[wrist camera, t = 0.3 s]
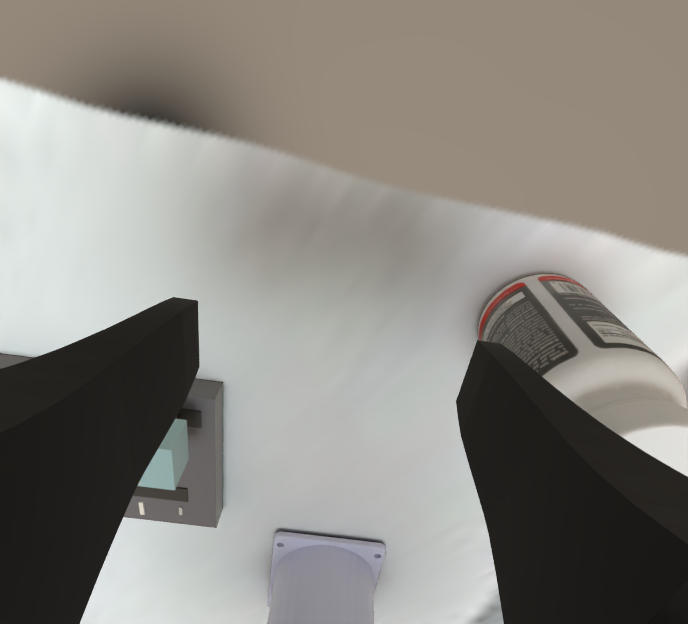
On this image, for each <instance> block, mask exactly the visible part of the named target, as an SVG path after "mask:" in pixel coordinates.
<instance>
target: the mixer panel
mask: <svg viewBox="0 0 688 624" xmlns="http://www.w3.org/2000/svg"><path fill="white" fill-rule="evenodd" d="M29 359H32V358H29V357H21V356H14V355H6V354H0V369H1V368H5V367H8V366H11V365H15V364H18V363H21V362H24V361H26V360H29ZM177 419H182V420H187V434H188V452H189V460H188V462H187V464H186V466H185V469H184V471H183V473H182V475H181V478H180V480H179V482H178V484H177V487H176V489H175V490H167V489H159V488H150V487H142V486H137V488H136V490H135V492H134V494H133V496H132V498H131V501H130V503H129V505H128V507H127V510H126V512H125V514H124V516H123V517H128V518H137V519H146V520H154V521H163V522H171V523H180V524H188V525H197V526H206V527H214V528H216V527H217V524H218V521H219V518H220V515H221V512H222V508H223V382H215V381H207V380H200V379H194V382H193V384H192V387H191V389H190V392H189V394H188V396H187V399H186V401H185V402H184V404H183V406H182V408H181V410H180V411H179V413H178V415H177Z"/></svg>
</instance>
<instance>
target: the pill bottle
mask: <svg viewBox="0 0 688 624" xmlns="http://www.w3.org/2000/svg"><path fill="white" fill-rule="evenodd" d="M478 337H479V341H486V342H493V343H500V344H502V345H504V346H505V347H507V348H508V349H509V350H511V351H512V352H513V353H514V354H516V355H517V356H518V357H519V358H521V359H522V360H523V361H524V362H525V363H527V364H528V365H529V366H530V367H531V368H532V369H534V370H535V371H536V372H537V373H538V374H540V375H541V376H542V377H543V378H544V379H546V380H547V381H548V382H549V383H550V384H552V385H553V386H554V387H555V388H556V389H558V390H559V391H560V392H561V393H563V394H564V395H565V396H566V397H568V398H569V399H570V400H571V401H573V402H574V403H575V404H577V405H578V406H579V407H581V408H582V409H583V410H585V411H586V412H587V413H589V414H590V415H591V416H593V417H594V418H595V419H597V420H598V421H599V422H601V423H602V424H604V425H605V426H606V427H608V428H609V429H611V430H612V431H614V432H615V433H617V434H618V435H620V436H621V437H623V438H624V439H626V440H627V441H629V442H630V443H632V444H634V445H635V446H637V447H638V448H640V449H641V450H643V451H644V452H646V453H648V454H649V455H651V456H653V457H654V458H656V459H658V460H659V461H661V462H663V463H664V464H666V465H668V466H670V467H671V468H673V469H675V470H677V471H679V472H680V473H682V474H684V475H686V476H687V477H688V409H687V401H686V395H685V392H684V389H683V386H682V384H681V382H680V380H679V379H678V377H677V376H676V374H675V373H674V372H673V371H672V370H671V369H670V368H669V366H668V365H667V364H666V363H665V362H664V361H663V360H661V359H660V358H659V357H658V356H657V355H656V354H655V353H654V352H653V351H652V350H651V349H650V348H649V347H648V346H646V345H645V344H644V343H643V342H642V341H641V340H640V339H639V338H638V337H637V336H636V335H635V334H634V333H633V332H632V331H631V330H629V329H628V328H627V327H626V326H625V325H624V324H623V323H622V322H621V321H620V320H619V319H618V318H617V317H616V316H615V315H613V314H612V313H611V312H610V311H609V310H608V309H607V308H606V307H605V306H604V305H603V304H602V303H601V302H600V301H599V300H598V299H596V298H595V297H594V296H593V295H592V294H591V293H590V292H589V291H588V290H587V289H586V288H584V287H583V286H582V285H580V284H579V283H578V282H576V281H574V280H572V279H570V278H567V277H564V276H560V275H554V274H540V275H533V276H528V277H525V278H522V279H519V280H517V281H515V282H513V283H511V284H509V285H507V286H506V287H504V288H503V289H502V290H500V291H499V292H498V293H497V294H496V295H495V296H494V297H493V298H492V299H491V300H490V301H489V303H488V304H487V306H486V307H485V309H484V311H483V313H482V315H481V318H480V321H479V327H478Z"/></svg>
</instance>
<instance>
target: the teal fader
mask: <svg viewBox="0 0 688 624" xmlns="http://www.w3.org/2000/svg"><path fill="white" fill-rule="evenodd" d="M188 460H189V452H188V434H187V420H182V419H177V417H176V418H175V420H174V422H173V424H172V426H171V427H170V429H169V431H168V432H167V434H166V436H165V438H164V439H163V441H162V443H161V445H160V446H159V448H158V450H157V451H156V453H155V455H154V457H153V458H152V460H151V462H150V464H149V465H148V467H147V469H146V471H145V472H144V474H143V476H142V478H141V480H140V482H139V484H138V486H142V487H150V488H159V489H167V490H175V489H176V487H177V484H178V482H179V480H180V478H181V475H182V473H183V471H184V469H185V466H186V464H187V462H188Z"/></svg>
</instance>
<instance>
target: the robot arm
mask: <svg viewBox="0 0 688 624" xmlns="http://www.w3.org/2000/svg"><path fill="white" fill-rule="evenodd" d="M198 369H199V333H198V301H196V300H189V299H182V298H175V297H173V298H170V299H168V300H165V301H163V302H161V303H159V304H157V305H154V306H152V307H150V308H148V309H146V310H144V311H142V312H140V313H138V314H136V315H134V316H132V317H130V318H128V319H126V320H124V321H122V322H119V323H117V324H115V325H113V326H111V327H109V328H107V329H105V330H102V331H100V332H98V333H95V334H93V335H91V336H88V337H86V338H84V339H81V340H79V341H77V342H75V343H72V344H70V345H68V346H65V347H63V348H60V349H57V350H55V351H52V352H49V353H47V354H44V355H41V356H38V357H35V358H32V359H29V360H26V361H24V362H21V363H18V364H15V365H11V366H8V367H5V368H1V369H0V624H80V621H81V619H82V616H83V613H84V611H85V608H86V606H87V603H88V601H89V598H90V596H91V593H92V591H93V588H94V585H95V583H96V580H97V578H98V575H99V573H100V570H101V568H102V566H103V563H104V561H105V559H106V556H107V554H108V551H109V549H110V547H111V544H112V542H113V540H114V537H115V535H116V532H117V530H118V528H119V525H120V523H121V521H122V519H123V516H124V514H125V512H126V510H127V507H128V505H129V503H130V501H131V498H132V496H133V494H134V492H135V490H136V488H137V486H138V484H139V482H140V480H141V478H142V476H143V474H144V472H145V471H146V469H147V467H148V465H149V464H150V462H151V460H152V458H153V457H154V455H155V453H156V451H157V450H158V448H159V446H160V445H161V443H162V441H163V439H164V438H165V436H166V434H167V432H168V431H169V429H170V427H171V426H172V424H173V422H174V420H175V418H176V417H177V415H178V413H179V411H180V410H181V408H182V406H183V404H184V402H185V401H186V399H187V396H188V394H189V392H190V389H191V387H192V384H193V382H194V379H195V376H196V374H197V371H198ZM456 404H457V412H458V420H459V426H460V433H461V437H462V441H463V445H464V448H465V452H466V455H467V459H468V462H469V466H470V469H471V472H472V476H473V479H474V483H475V486H476V489H477V493H478V496H479V499H480V503H481V506H482V510H483V513H484V517H485V521H486V525H487V529H488V533H489V538H490V543H491V549H492V554H493V560H494V565H495V570H496V576H497V582H498V589H499V595H500V601H501V608H502V614H503V620H504V624H688V477H687V476H686V475H684V474H682V473H680V472H679V471H677V470H675V469H673V468H671V467H670V466H668V465H666V464H664V463H663V462H661V461H659V460H658V459H656V458H654V457H653V456H651V455H649V454H648V453H646V452H644V451H643V450H641V449H640V448H638V447H637V446H635V445H634V444H632V443H630V442H629V441H627V440H626V439H624V438H623V437H621V436H620V435H618V434H617V433H615V432H614V431H612V430H611V429H609V428H608V427H606V426H605V425H604V424H602V423H601V422H599V421H598V420H597V419H595V418H594V417H593V416H591V415H590V414H589V413H587V412H586V411H585V410H583V409H582V408H581V407H579V406H578V405H577V404H575V403H574V402H573V401H571V400H570V399H569V398H568V397H566V396H565V395H564V394H563V393H561V392H560V391H559V390H558V389H556V388H555V387H554V386H553V385H552V384H550V383H549V382H548V381H547V380H546V379H544V378H543V377H542V376H541V375H540V374H538V373H537V372H536V371H535V370H534V369H532V368H531V367H530V366H529V365H528V364H527V363H525V362H524V361H523V360H522V359H521V358H519V357H518V356H517V355H516V354H514V353H513V352H512V351H511V350H509V349H508V348H507V347H505V346H504V345H502V344H500V343H493V342H486V341H479V340H477V343H476V346H475V349H474V352H473V355H472V357H471V360H470V363H469V366H468V369H467V372H466V375H465V377H464V380H463V383H462V386H461V389H460V392H459V395H458V398H457V400H456ZM385 554H386V546H385V545H384V544H382V543H376V542H367V541H359V540H350V539H342V538H333V537H325V536H316V535H307V534H299V533H290V532H277V533H275V536H274V543H273V553H272V564H271V575H270V585H269V596H268V606H269V607H270V610H269V615H268V621H267V624H374V606H373V593H374V589H375V586H376V583H377V580H378V576H379V573H380V570H381V567H382V563H383V560H384V557H385Z"/></svg>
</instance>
